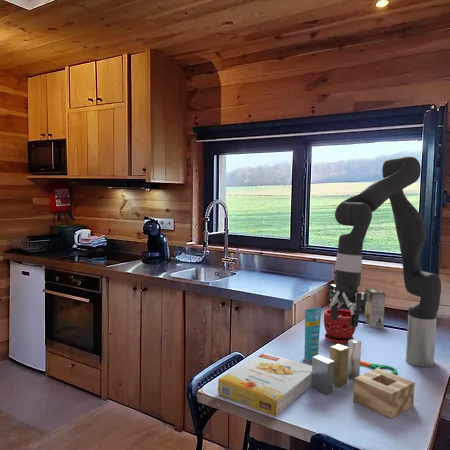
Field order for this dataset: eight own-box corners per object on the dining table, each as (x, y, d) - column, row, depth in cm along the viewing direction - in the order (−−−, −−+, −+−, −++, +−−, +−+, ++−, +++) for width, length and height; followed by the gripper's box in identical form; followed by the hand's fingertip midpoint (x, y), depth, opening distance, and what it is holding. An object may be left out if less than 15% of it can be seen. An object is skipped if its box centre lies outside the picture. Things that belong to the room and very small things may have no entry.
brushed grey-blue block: (317, 385, 136) (318, 354, 135) (332, 392, 131) (334, 361, 130) (311, 387, 134) (312, 357, 133) (326, 395, 129) (327, 363, 128)
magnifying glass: (399, 372, 147) (399, 367, 147) (393, 378, 143) (394, 373, 142) (356, 360, 157) (357, 356, 157) (350, 366, 152) (350, 361, 152)
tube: (308, 363, 153) (310, 311, 151) (299, 358, 157) (300, 307, 155) (323, 359, 157) (325, 308, 155) (313, 354, 161) (315, 304, 159)
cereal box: (217, 378, 128) (264, 350, 151) (216, 396, 128) (263, 365, 151) (277, 399, 116) (318, 365, 139) (276, 419, 117) (317, 381, 140)
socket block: (376, 389, 133) (377, 368, 133) (413, 405, 124) (414, 382, 123) (353, 401, 126) (354, 378, 125) (390, 418, 116) (391, 394, 116)
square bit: (337, 379, 140) (338, 343, 139) (347, 383, 137) (348, 347, 136) (329, 382, 138) (330, 346, 137) (339, 387, 135) (340, 350, 134)
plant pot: (355, 348, 168) (356, 318, 167) (321, 344, 172) (322, 314, 171) (356, 337, 180) (357, 309, 179) (324, 333, 184) (325, 306, 183)
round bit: (351, 373, 145) (353, 338, 144) (362, 377, 142) (363, 342, 141) (344, 376, 143) (345, 341, 142) (354, 380, 140) (356, 344, 139)
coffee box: (363, 321, 203) (365, 288, 201) (377, 321, 203) (378, 288, 201) (370, 327, 193) (371, 292, 192) (384, 327, 193) (385, 293, 192)
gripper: (375, 273, 122) (370, 329, 123) (341, 266, 135) (337, 316, 136) (355, 272, 119) (350, 330, 120) (322, 265, 132) (318, 317, 132)
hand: (343, 323), depth 128 cm, fingers open, 8 cm apart
